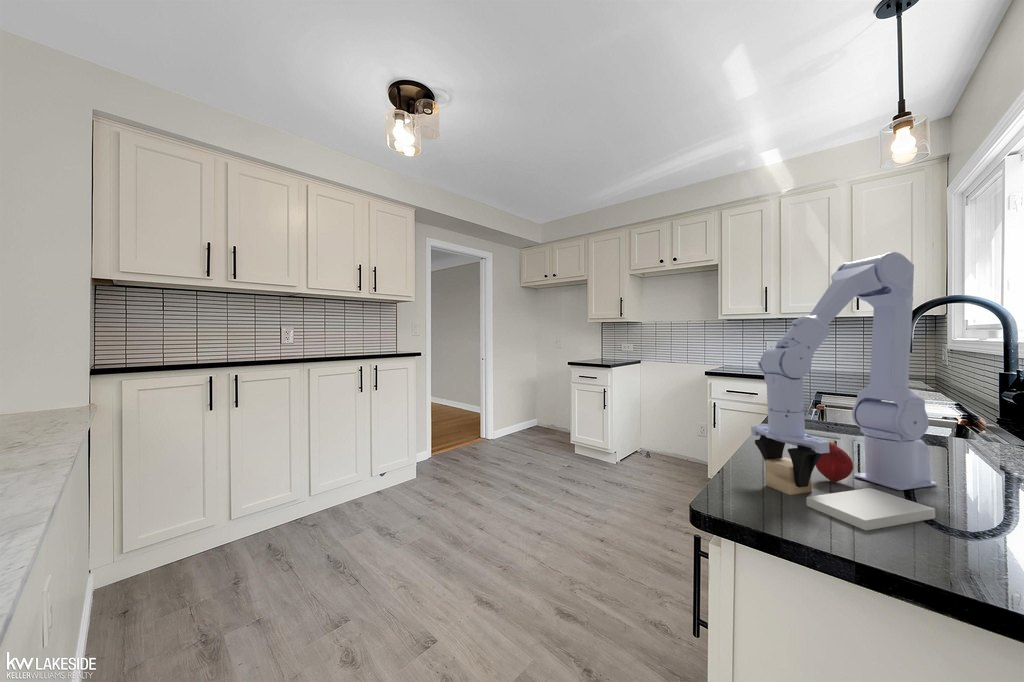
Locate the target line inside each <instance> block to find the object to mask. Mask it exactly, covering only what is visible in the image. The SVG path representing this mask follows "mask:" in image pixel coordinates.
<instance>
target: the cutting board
mask: <svg viewBox="0 0 1024 682" xmlns="http://www.w3.org/2000/svg"><path fill="white" fill-rule="evenodd" d="M806 506H807V507H809V508H811V509H813V510H815V511H818V512H820V513H822V514H826V515H828V516H830V517H833V518H835V519H837V520H839V521H841V522H845V523H847V524H849V525H852V526H854V527H856V528H859V529H860V530H863V531H872V530H877V529H882V528H889V527H894V526H900V525H906V524H912V523H917V522H922V521H928V520H933V519H936V508H934V507H931V506H928V505H925V504H921V503H919V502H915V501H913V500H909V499H905V498H902V497H900V496H898V495H894V494H891V493H887V492H885V491H881V490H877V489H875V488H872V487H867V488H859V489H854V490H852V489H851V490H847V491H841V492H840V491H839V492H833V493H832V492H831V493H826V494H825V493H824V494H819V495H811V496H807V497H806Z"/></svg>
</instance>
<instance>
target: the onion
mask: <svg viewBox="0 0 1024 682" xmlns="http://www.w3.org/2000/svg"><path fill="white" fill-rule="evenodd" d="M828 442H829V453H823V455H822V456H821V457H820V459H819V460H818V461H817V463H816V465H815V467H816V469H817V470H818V472H819V473H820V474H821V475H822V476H824V477H825V478H826V479H828V481H830V482H832V483H837V482H841V481H842V480H845V479H846V478H848V477H849V476H850V475H851V474H852V473H853V470H854V464H853V460H852V459H851V457H850V456H849V454H848V453H847V452H846V451H845V450H844V449H842V448H841V447H839V446H838V445H837V444H836V442H835V441H832V440H830V441H828Z"/></svg>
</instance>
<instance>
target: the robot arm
mask: <svg viewBox="0 0 1024 682" xmlns="http://www.w3.org/2000/svg"><path fill="white" fill-rule="evenodd" d="M914 273H915V265H914V264H913V262H912V261H910V260H909V259H908V258H907V257H906V256H905V255H904V254H902V253H901V252H897V251H891V252H887V253H885V254H884V253H883V254H882V255H876V256H872V257H868V258H864V259H860V260H854V261H847V262H843V263H842V264H840V265H839V267H838V268H837V269H836V271H835V272H834V273H832V274H831V283H830V284H829V287H828V288H827V289H826V291H825V292H824V293H823V294H822V296H821V297H820V299H819V301H818V302H817V304H816V305H815V306H814V308H813V309H812V310H811V312H810V313H809V315H806V316H805V315H804V316H799V317H798V318H797V319H793V320H792V321H791V323H790V325H791V326H790V327H789V329H788V330H787V331H786V332H785V334H784V335H783V337H781V339H780V338H779V339H778V340H777V341H776V345H775V346H774V347H771V348H767V349H766V350H765V351H764V352H763V353H762V355H761V356H760V357H761V358H760V360H759V361H758V362H757V365H758V368H759V370H760V371H761V373H762V374H763V376H764V382H765V384H766V399H767V400H766V401H767V402H766V403H767V404H766V405H767V426H765V425H760V424H757V425H756V424H755V425H751V426H750V433H751V434H750V435H751V436H755V437H757V436H758V437H759V439H755V440H754V445H755V446H757V449H758V450H759V452H760V454H761V456H762V457H763V460H764V461H765V460H769V459H777V458H783V453H784V449H785V447H786V446H785V445H786V444H789V445H792V446H795V447H793V448H787V452H788V455H789V456H790V459H791V460H792V464H793V468H794V479H795V484H796V486H797V487H807V486H808V484H809V481H810V477H811V478H812V474H813V471H814V470H815V469H814V468H815V467H816V463H817V461H818V460H819V459H820V457H821V456H822V455H823V453H829V442H830V441H827V440H823V439H820V438H818V437H815V436H812V435H810V434H808V433H806V428H805V427H806V426H805V425H806V424H805V423H806V422H805V421H806V420H805V400H804V399H805V398H804V397H805V396H804V376H806V375H807V374H808V373H810V371H811V369H812V364H813V363H812V359H813V358H814V357H815V356H814V354H815V352H816V351H817V350H818V349H819V348H820V346H821V345H822V344H823V342H825V340H826V339H827V338H828V336H830V333H831V329H830V326H829V325H830V323H831V322H832V321H833V320H834V319H835V318H836V317H837V316H838V315H839V314H840V313H841V312H842V311H843V310H844V308H846V306H847V305H848V304H850V302H852V300H853V299H854V298H857V299H859V300H860V301H863V302H866V303H868V305H870V306H871V307H872V308H873V315H872V317H873V318H872V333H871V334H872V337H871V352H870V355H871V356H870V372H869V373H870V374H869V384H868V385H867V386H866V387H864V388H862V389H861V390H859V391H858V392H857V396H856V397H857V398H856V402H855V403H854V405H853V407H852V410H851V416H852V421H853V422H854V424H855V425H856V426H857V427H859V430H860V433H862V434H863V438H864V439H863V440H864V441H863V443H864V444H863V445H864V446H863V447H864V463H865V465H864V466H865V468H864V469H865V472H860V473H854V474H853V477H855V478H858V479H860V478H861V479H860V480H864V481H867V482H871V483H874V484H877V485H880V486H883V487H887V488H889V489H890V488H891V489H893V490H898V491H904V490H905V491H906V490H911V489H918V488H925V487H926V488H927V487H932V486H937V482H936V481H933V480H931V462H930V460H931V458H930V456H931V455H930V450H929V447H928V445H927V444H926V443H925V441H924V440H923V439H921V437H923V436H924V435H925V434H926V432H927V431H928V429H929V425H930V420H929V417H928V414H927V411H926V400H925V399H924V398H923V397H921V396H920V395H919V394H917V393H916V392H914V391H913V390H912V389H910V388H909V377H910V360H911V359H910V358H911V343H912V342H911V339H912V325H913V324H912V321H913V320H912V319H913V306H914V305H913V303H914V298H913V297H914V296H913V292H914V277H915V276H914ZM883 400H884V401H883ZM887 401H888V402H887Z"/></svg>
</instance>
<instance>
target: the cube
mask: <svg viewBox="0 0 1024 682" xmlns="http://www.w3.org/2000/svg"><path fill="white" fill-rule="evenodd" d="M764 463H765V483H766V485H765V486H767V487H769V488H772V489H774V490H776V491H779V492H782V493H784V494H787V495H789V496H791V495H799V494H807V493H812V492H813V486H812V485H813V484H812V476H811V477H810V481H809V484H808V486H807V487H797V486H796V484H795V479H794V468H793V464H792V460H791V457H790V458H789V457H782V458H777V459H769V460H764Z"/></svg>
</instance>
